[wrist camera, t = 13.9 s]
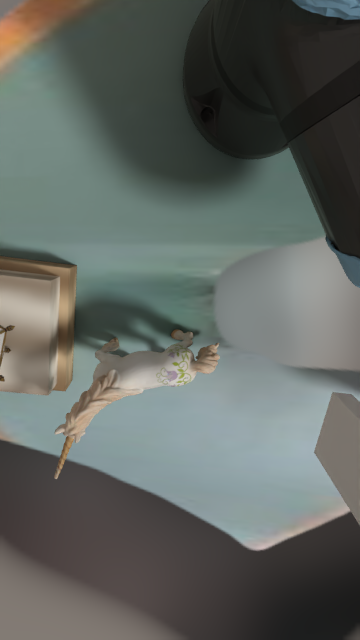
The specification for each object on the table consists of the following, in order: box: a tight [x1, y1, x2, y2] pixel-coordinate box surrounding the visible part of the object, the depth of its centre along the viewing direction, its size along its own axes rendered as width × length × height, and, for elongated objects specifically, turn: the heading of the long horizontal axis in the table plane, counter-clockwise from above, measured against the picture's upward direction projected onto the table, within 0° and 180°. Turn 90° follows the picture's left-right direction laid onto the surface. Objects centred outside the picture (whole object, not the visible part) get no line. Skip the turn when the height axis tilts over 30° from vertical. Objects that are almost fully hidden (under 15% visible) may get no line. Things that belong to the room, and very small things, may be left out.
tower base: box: [0, 256, 77, 395], centre depth 37 cm, size 15×15×6 cm
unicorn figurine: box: [54, 330, 220, 479], centre depth 35 cm, size 7×20×13 cm, turn 116°
